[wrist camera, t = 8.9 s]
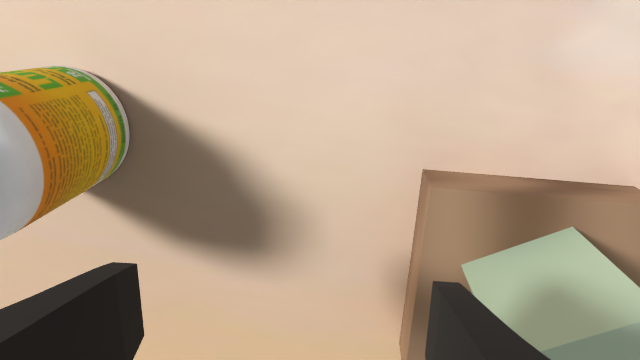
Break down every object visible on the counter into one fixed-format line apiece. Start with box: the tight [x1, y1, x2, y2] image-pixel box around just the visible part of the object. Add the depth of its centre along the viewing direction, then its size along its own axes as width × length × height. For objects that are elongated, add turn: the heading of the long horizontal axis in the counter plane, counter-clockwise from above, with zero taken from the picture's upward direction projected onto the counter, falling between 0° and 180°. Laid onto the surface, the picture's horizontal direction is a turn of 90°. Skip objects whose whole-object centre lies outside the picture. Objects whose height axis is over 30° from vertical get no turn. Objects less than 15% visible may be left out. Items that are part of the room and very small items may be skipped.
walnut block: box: [399, 169, 640, 360], centre depth 21 cm, size 9×9×3 cm
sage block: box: [461, 227, 640, 360], centre depth 17 cm, size 4×4×6 cm
